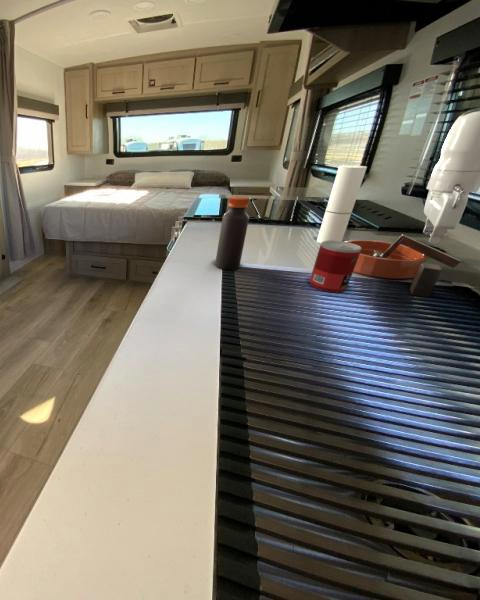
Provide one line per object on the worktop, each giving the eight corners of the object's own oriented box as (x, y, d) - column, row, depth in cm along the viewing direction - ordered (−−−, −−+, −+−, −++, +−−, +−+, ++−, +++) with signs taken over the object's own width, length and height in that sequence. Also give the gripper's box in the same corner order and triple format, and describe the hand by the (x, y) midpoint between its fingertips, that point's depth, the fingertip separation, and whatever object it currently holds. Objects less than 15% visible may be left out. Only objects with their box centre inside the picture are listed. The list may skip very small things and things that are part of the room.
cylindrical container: (340, 240, 118) (365, 165, 107) (341, 246, 113) (368, 167, 101) (316, 238, 121) (338, 165, 110) (316, 243, 116) (339, 167, 105)
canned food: (347, 295, 80) (363, 251, 75) (308, 288, 84) (321, 247, 79) (345, 283, 86) (360, 242, 81) (308, 278, 90) (320, 238, 85)
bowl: (414, 264, 96) (422, 246, 94) (422, 286, 83) (432, 265, 81) (336, 253, 107) (341, 236, 104) (333, 271, 93) (339, 252, 91)
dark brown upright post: (426, 291, 81) (439, 264, 77) (428, 297, 78) (442, 270, 75) (409, 288, 82) (421, 262, 79) (411, 294, 79) (423, 267, 76)
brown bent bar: (426, 284, 91) (458, 257, 86) (429, 291, 88) (462, 263, 82) (367, 255, 97) (393, 228, 91) (367, 260, 93) (395, 233, 88)
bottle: (241, 271, 96) (255, 200, 87) (216, 270, 97) (228, 200, 88) (236, 263, 101) (249, 195, 93) (213, 262, 103) (223, 195, 94)
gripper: (485, 188, 71) (455, 251, 77) (463, 178, 85) (440, 231, 91) (443, 187, 74) (418, 247, 80) (429, 177, 89) (409, 228, 95)
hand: (430, 238), depth 86 cm, fingers open, 8 cm apart
